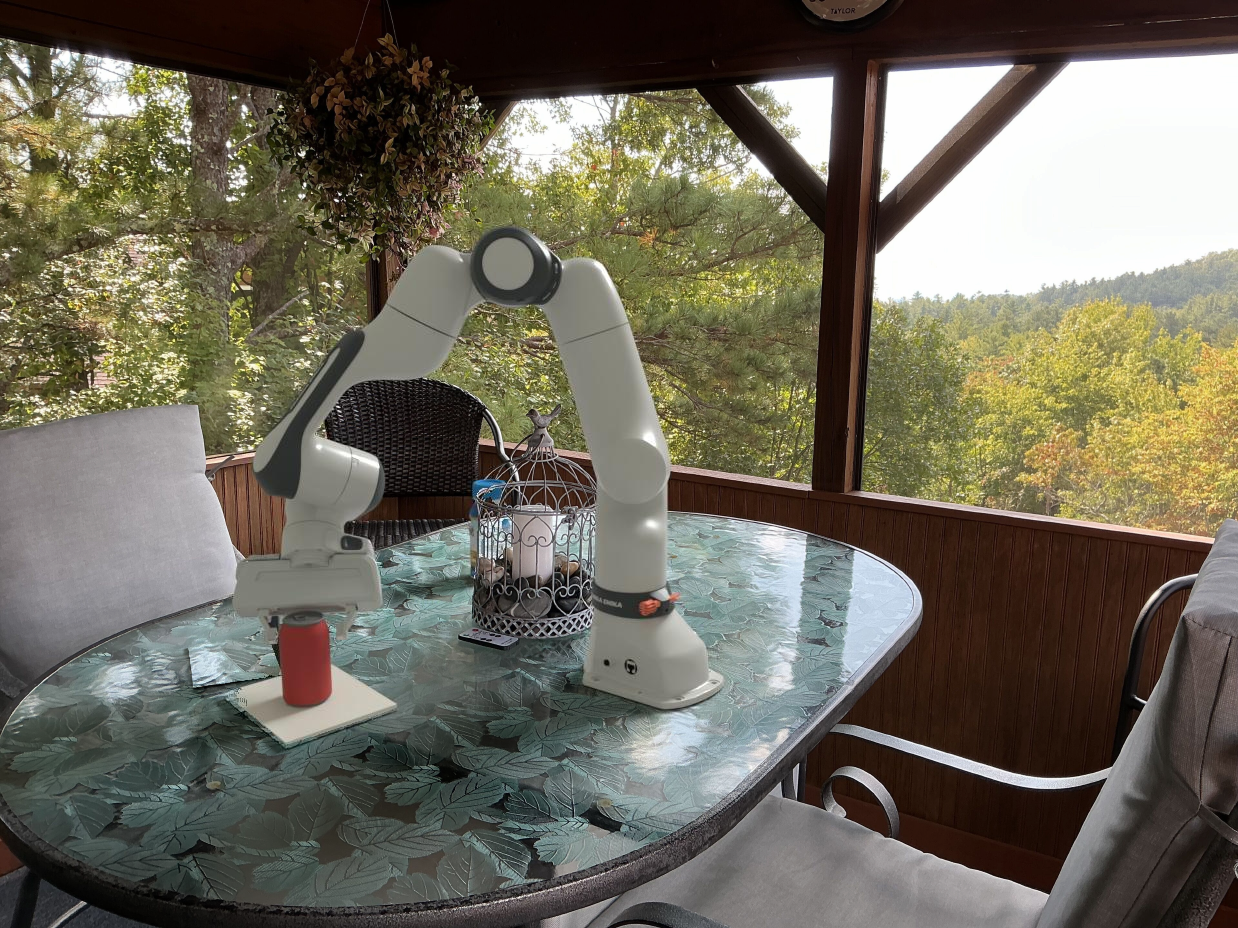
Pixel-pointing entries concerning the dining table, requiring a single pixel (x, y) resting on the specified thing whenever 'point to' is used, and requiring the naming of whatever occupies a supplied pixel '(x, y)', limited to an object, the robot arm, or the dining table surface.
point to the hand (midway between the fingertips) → (306, 640)
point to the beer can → (305, 659)
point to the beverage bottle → (473, 516)
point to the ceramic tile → (312, 707)
